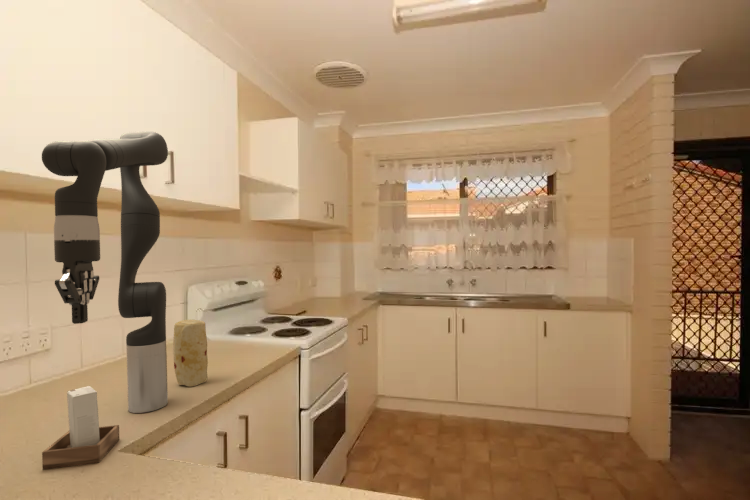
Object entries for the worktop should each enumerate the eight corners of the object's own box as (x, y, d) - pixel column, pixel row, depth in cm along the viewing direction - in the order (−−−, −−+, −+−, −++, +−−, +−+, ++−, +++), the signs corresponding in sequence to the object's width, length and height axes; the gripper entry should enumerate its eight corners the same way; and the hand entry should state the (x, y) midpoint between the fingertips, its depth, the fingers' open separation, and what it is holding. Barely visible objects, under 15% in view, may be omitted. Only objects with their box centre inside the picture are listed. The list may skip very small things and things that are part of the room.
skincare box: (101, 449, 81) (99, 391, 81) (74, 458, 78) (72, 397, 78) (93, 440, 86) (92, 384, 86) (68, 448, 82) (66, 390, 82)
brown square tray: (69, 445, 85) (69, 430, 85) (119, 439, 87) (119, 424, 87) (42, 469, 76) (42, 452, 76) (98, 462, 78) (98, 445, 78)
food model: (209, 379, 127) (208, 317, 127) (206, 386, 121) (204, 320, 121) (176, 382, 125) (175, 319, 125) (171, 389, 119) (169, 323, 119)
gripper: (74, 240, 87) (76, 318, 87) (36, 238, 74) (39, 330, 74) (112, 239, 89) (114, 316, 89) (81, 237, 76) (84, 327, 76)
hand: (79, 322), depth 81 cm, fingers closed
